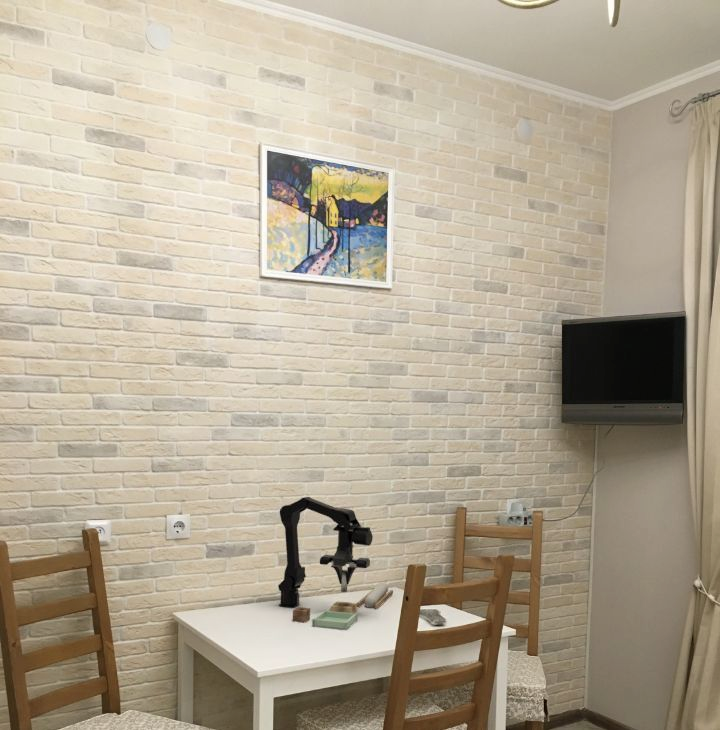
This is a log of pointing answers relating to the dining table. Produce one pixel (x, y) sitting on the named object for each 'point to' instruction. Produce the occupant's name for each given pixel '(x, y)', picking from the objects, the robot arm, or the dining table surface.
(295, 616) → the walnut block
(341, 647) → the dining table surface
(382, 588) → the tube
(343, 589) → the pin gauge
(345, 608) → the oak block
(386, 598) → the tube rest
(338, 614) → the tray
